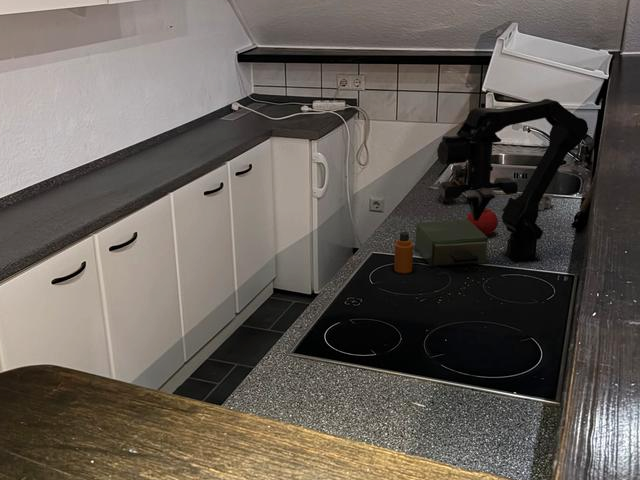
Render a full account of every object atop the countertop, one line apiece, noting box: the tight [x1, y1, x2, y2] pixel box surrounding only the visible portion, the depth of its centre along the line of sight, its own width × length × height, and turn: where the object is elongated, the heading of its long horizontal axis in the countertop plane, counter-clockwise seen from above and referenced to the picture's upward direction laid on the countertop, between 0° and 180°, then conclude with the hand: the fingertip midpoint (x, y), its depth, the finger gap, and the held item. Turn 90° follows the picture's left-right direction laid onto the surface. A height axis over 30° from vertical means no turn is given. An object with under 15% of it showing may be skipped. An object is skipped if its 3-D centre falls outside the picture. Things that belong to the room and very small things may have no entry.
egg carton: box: [514, 191, 554, 211], centre depth 241 cm, size 11×8×4 cm
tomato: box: [466, 207, 499, 236], centre depth 218 cm, size 9×9×8 cm
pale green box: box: [415, 219, 488, 268], centre depth 204 cm, size 15×15×7 cm
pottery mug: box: [437, 178, 469, 204], centre depth 247 cm, size 12×10×8 cm
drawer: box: [434, 241, 488, 265], centre depth 200 cm, size 18×13×5 cm
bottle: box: [393, 231, 414, 274], centre depth 194 cm, size 5×5×10 cm
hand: (475, 220), depth 194 cm, fingers closed
